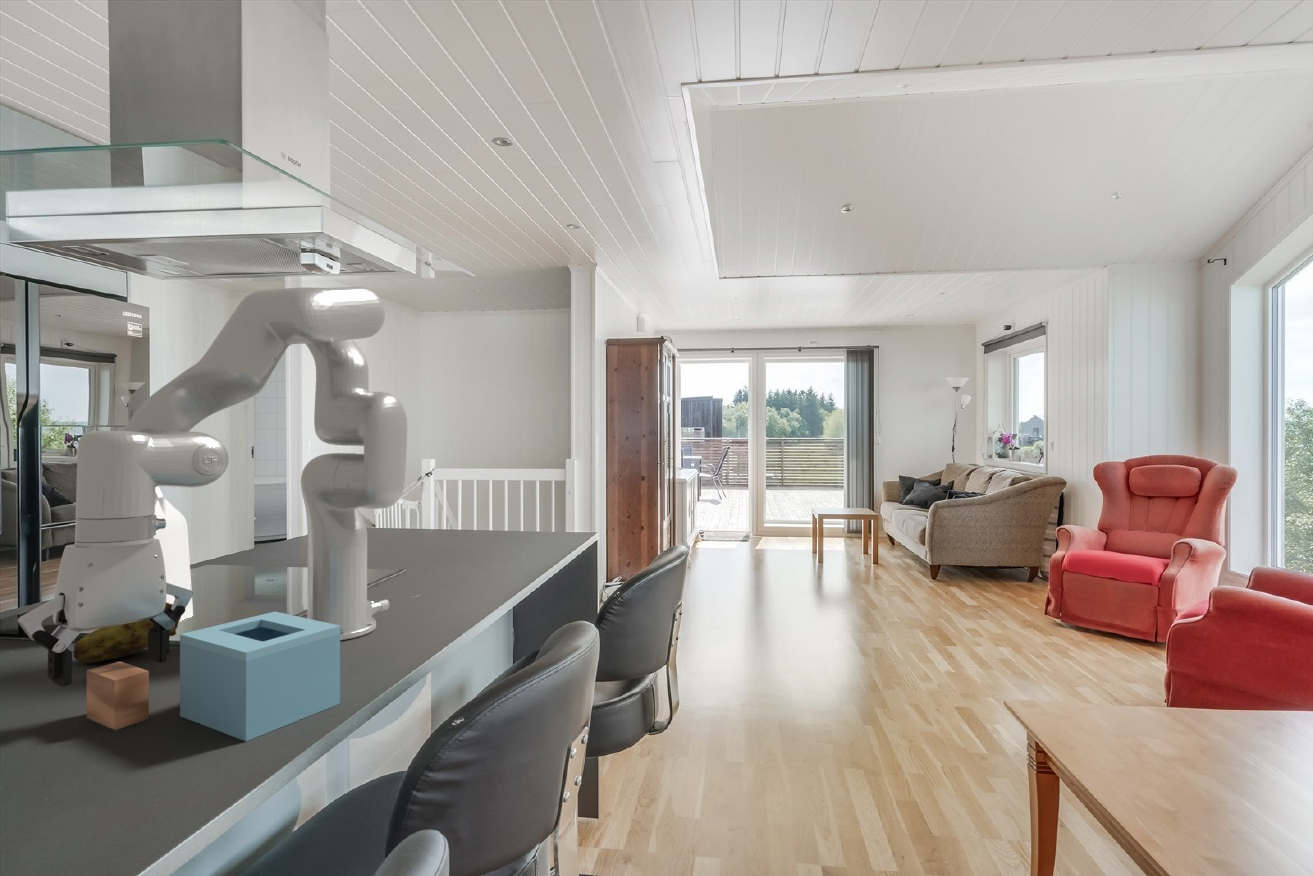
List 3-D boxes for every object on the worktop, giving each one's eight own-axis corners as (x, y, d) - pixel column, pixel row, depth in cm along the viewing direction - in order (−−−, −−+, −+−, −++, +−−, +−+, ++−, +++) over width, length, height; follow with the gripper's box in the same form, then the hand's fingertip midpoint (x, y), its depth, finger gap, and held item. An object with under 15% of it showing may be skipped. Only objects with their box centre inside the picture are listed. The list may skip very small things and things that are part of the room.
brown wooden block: (120, 708, 84) (120, 661, 84) (148, 719, 81) (148, 671, 81) (86, 718, 81) (86, 670, 81) (114, 730, 78) (114, 680, 78)
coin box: (274, 683, 92) (274, 611, 92) (340, 703, 86) (340, 625, 86) (180, 716, 82) (180, 634, 82) (246, 741, 75) (246, 652, 75)
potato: (83, 655, 104) (83, 604, 104) (183, 642, 110) (183, 595, 110) (69, 672, 97) (69, 617, 97) (176, 657, 103) (177, 606, 103)
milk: (77, 635, 114) (77, 485, 114) (129, 616, 125) (129, 480, 125) (147, 635, 114) (148, 485, 114) (193, 616, 126) (193, 480, 126)
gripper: (177, 523, 90) (174, 648, 90) (8, 536, 75) (3, 688, 74) (208, 526, 87) (204, 657, 86) (37, 541, 71) (32, 700, 71)
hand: (111, 671), depth 80 cm, fingers open, 9 cm apart
